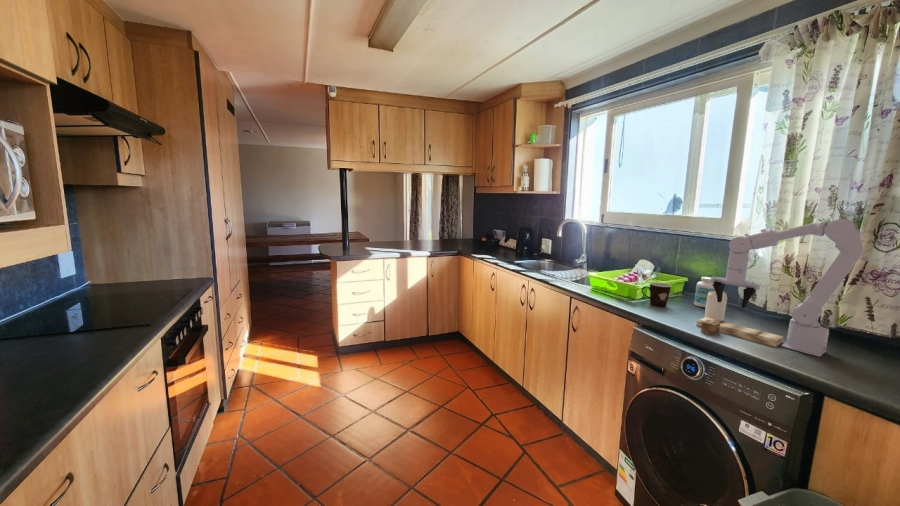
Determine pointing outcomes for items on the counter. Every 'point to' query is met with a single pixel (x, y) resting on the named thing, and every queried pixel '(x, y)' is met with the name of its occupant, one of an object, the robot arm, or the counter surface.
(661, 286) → the coffee mug
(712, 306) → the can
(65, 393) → the counter surface
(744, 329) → the maple board
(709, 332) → the brown wooden cube
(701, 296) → the pill bottle
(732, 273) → the robot arm
